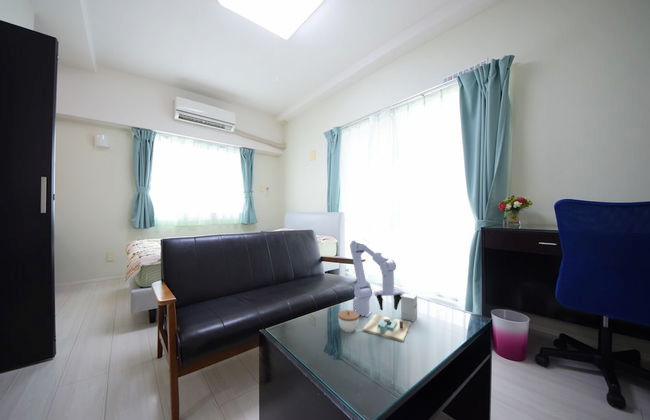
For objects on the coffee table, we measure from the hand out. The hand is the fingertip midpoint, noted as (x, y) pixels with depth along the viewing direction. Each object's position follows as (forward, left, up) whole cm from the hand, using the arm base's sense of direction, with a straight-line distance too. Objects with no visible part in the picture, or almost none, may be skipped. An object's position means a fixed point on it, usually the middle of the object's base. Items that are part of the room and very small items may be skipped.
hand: (388, 309), depth 117 cm
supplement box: (+7, +18, -10) cm, 22 cm away
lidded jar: (-18, -12, -10) cm, 23 cm away
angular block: (-1, -3, -9) cm, 9 cm away
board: (-1, 0, -10) cm, 10 cm away
